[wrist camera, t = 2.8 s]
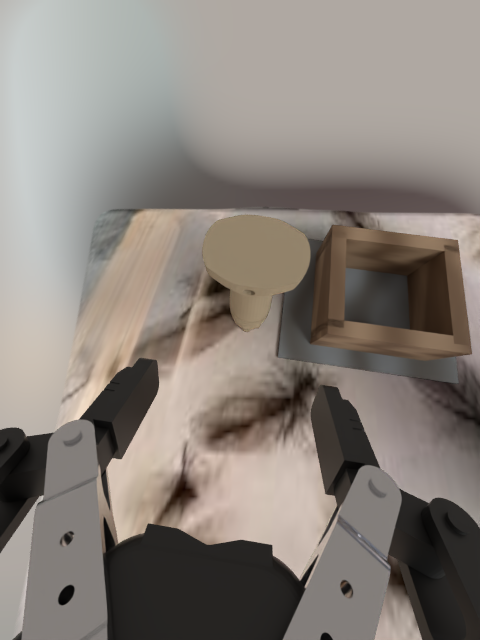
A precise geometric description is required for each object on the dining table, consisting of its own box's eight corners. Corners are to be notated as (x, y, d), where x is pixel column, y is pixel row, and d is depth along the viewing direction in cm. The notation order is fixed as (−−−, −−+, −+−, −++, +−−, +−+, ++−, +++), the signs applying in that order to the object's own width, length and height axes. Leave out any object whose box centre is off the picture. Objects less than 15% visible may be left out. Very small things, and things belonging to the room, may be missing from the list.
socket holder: (442, 258, 31) (489, 228, 25) (455, 383, 26) (516, 382, 20) (289, 238, 31) (301, 205, 26) (277, 357, 27) (287, 349, 21)
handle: (226, 296, 29) (212, 208, 15) (277, 305, 29) (314, 224, 14) (218, 334, 28) (194, 277, 13) (271, 343, 28) (305, 296, 13)
